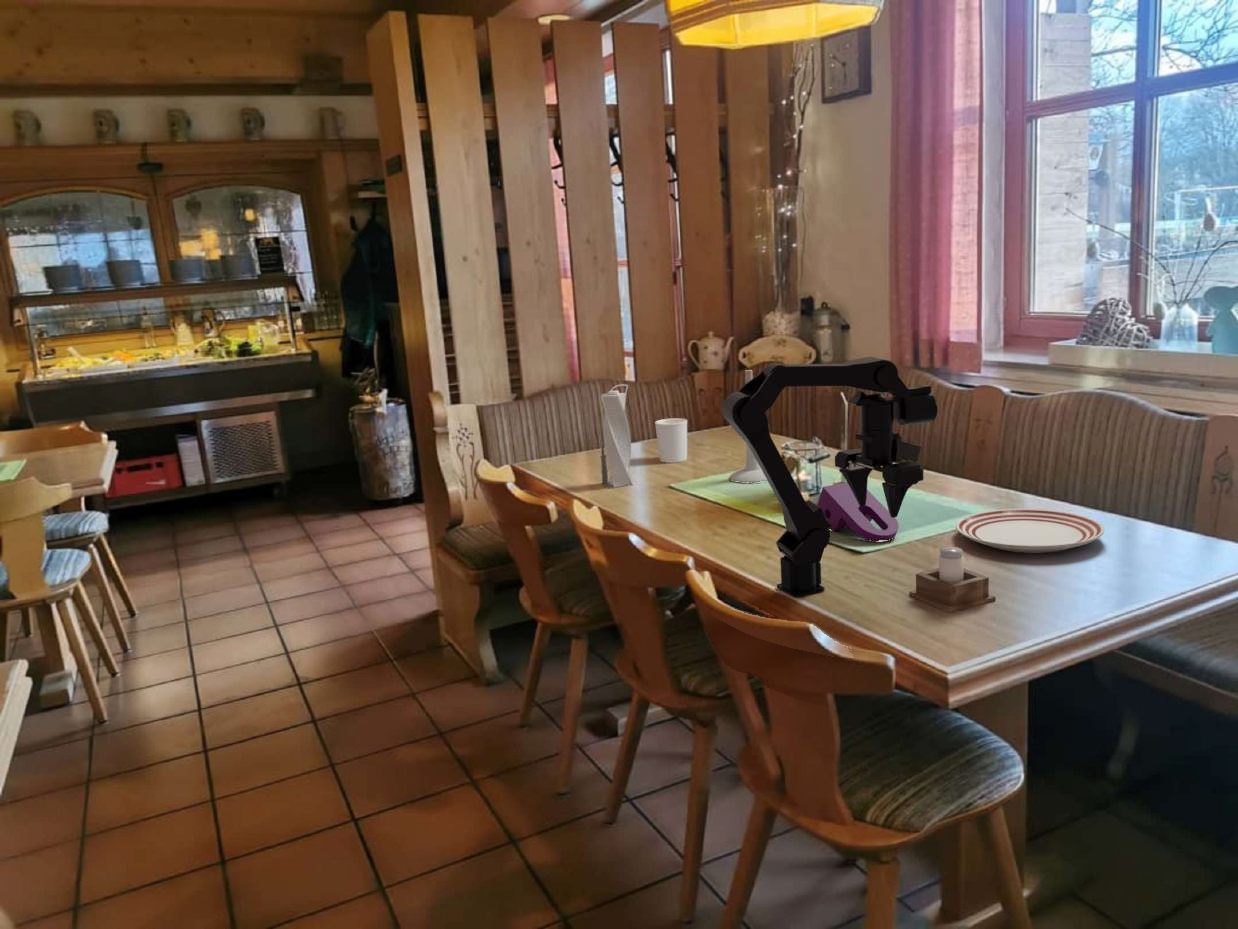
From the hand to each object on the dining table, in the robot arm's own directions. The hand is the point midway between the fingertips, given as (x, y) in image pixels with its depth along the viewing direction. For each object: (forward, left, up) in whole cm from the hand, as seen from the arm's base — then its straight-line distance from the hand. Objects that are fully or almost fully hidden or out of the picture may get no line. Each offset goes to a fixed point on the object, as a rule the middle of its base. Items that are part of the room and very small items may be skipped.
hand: (877, 511), depth 172 cm
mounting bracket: (+15, +25, -13) cm, 32 cm away
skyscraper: (-10, +99, -13) cm, 101 cm away
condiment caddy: (+4, -15, -13) cm, 20 cm away
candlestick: (+22, +81, -13) cm, 85 cm away
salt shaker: (+4, -15, -12) cm, 19 cm away
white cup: (+15, +116, -13) cm, 118 cm away
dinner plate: (+38, +1, -13) cm, 40 cm away
